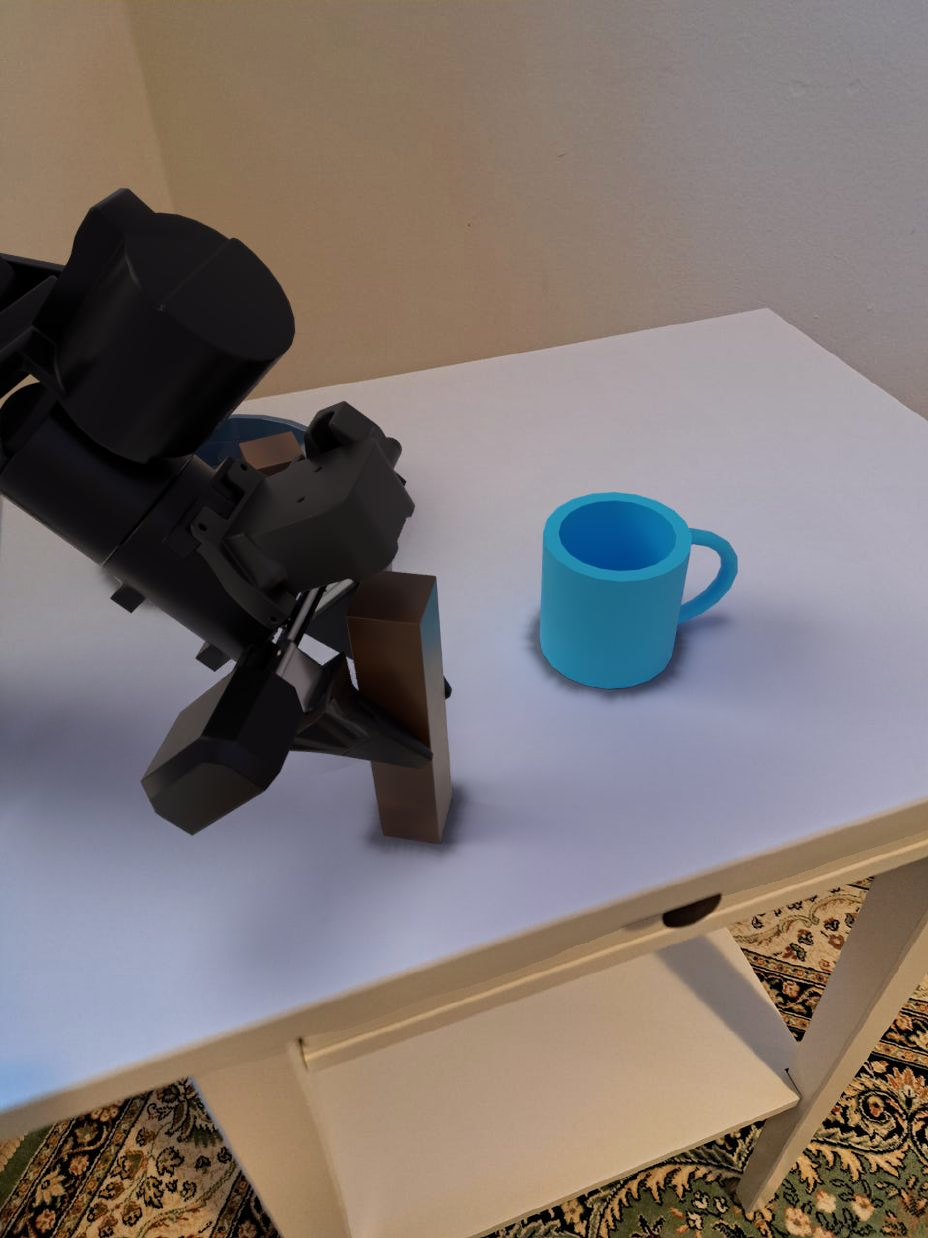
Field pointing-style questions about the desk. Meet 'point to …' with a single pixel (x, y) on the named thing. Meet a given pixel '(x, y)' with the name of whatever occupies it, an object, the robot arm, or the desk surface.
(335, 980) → the desk surface
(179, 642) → the desk surface
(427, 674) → the stick
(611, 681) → the mug
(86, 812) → the desk surface
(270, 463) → the walnut cube
